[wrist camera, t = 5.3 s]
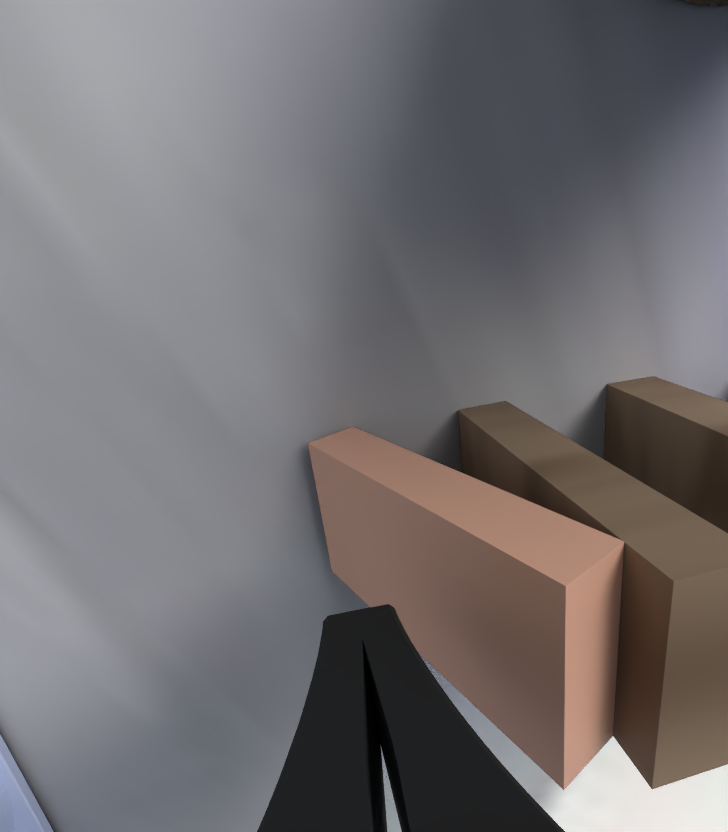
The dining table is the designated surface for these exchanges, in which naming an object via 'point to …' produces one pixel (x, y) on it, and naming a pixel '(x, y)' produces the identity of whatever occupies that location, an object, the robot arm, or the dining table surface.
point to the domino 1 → (482, 590)
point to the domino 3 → (671, 443)
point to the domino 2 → (632, 586)
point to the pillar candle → (709, 2)
